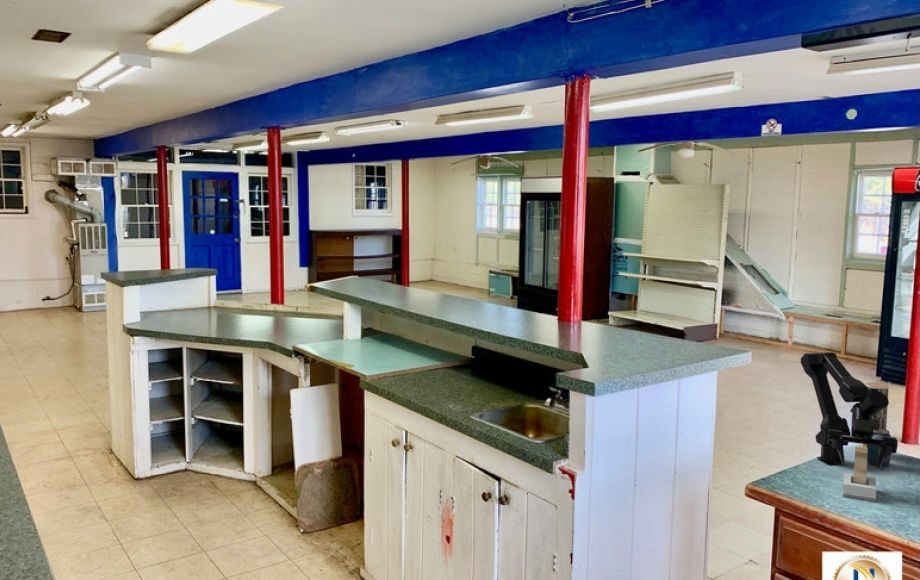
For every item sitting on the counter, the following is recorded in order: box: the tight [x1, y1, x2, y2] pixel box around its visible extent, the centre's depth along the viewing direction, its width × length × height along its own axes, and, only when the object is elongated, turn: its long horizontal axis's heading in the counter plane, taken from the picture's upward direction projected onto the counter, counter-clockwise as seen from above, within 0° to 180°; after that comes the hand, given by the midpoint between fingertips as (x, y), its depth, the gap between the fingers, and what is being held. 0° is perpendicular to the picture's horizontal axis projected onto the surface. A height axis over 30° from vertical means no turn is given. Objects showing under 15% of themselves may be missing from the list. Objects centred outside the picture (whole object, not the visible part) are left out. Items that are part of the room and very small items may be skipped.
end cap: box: [842, 472, 877, 503], centre depth 213 cm, size 10×8×4 cm
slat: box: [853, 445, 868, 485], centre depth 213 cm, size 4×3×13 cm
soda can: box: [867, 428, 892, 469], centre depth 235 cm, size 7×7×12 cm
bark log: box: [862, 382, 889, 448], centre depth 244 cm, size 7×7×25 cm
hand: (860, 466), depth 211 cm, fingers open, 9 cm apart
